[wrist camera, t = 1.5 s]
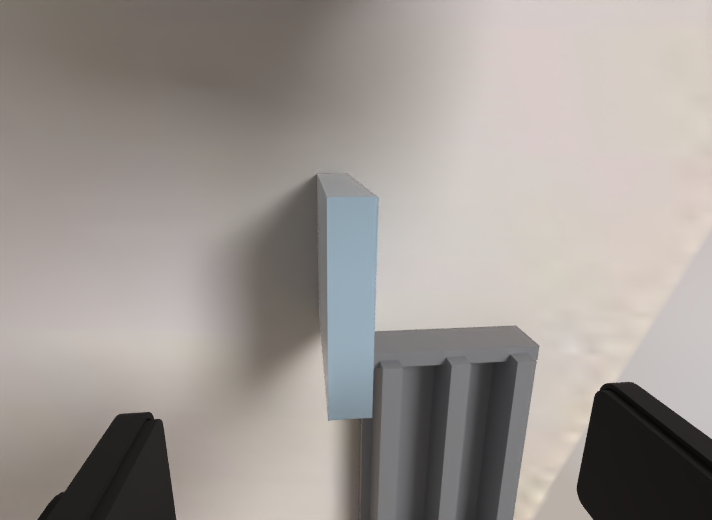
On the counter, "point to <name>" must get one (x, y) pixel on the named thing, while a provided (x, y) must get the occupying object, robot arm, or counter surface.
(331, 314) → the light blue upright panel
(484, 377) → the rack
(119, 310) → the counter surface
